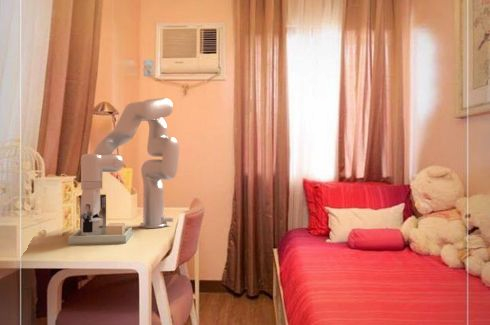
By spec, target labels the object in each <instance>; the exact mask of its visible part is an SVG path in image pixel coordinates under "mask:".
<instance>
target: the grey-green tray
mask: <svg viewBox="0 0 490 325" xmlns="http://www.w3.org/2000/svg"><path fill="white" fill-rule="evenodd" d="M132 235H133V227H125V234H124V235H106V228H102V235H99V236H81V229H80V228H79V229H78V230H77V231H75V232H74V233H72V234H71V235H69V236H68V237H67V245H68V246H81V245H82V246H84V245H85V246H86V245H88V246H89V245H109V244H114V245H115V244H116V245H117V244H126V243H128V241H129V240H130V238H131V237H132Z"/></svg>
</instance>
